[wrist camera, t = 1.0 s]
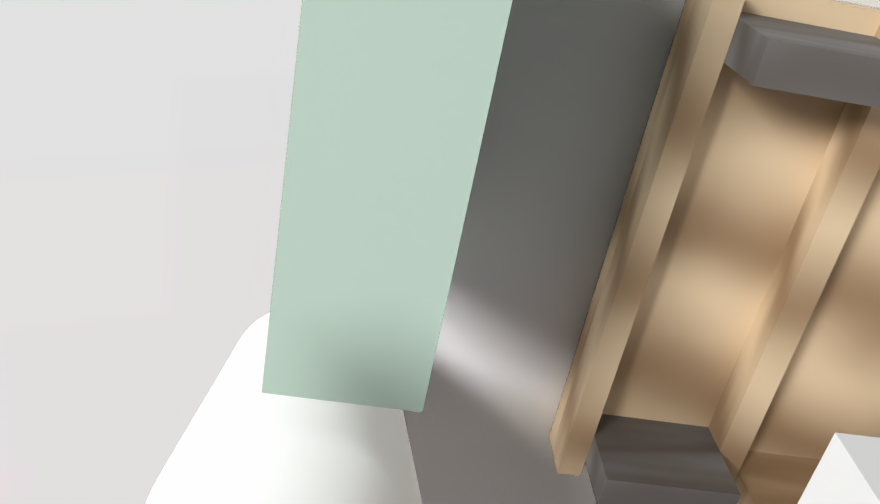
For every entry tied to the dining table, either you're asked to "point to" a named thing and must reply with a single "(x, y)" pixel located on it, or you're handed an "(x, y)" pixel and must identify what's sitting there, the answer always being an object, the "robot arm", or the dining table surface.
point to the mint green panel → (376, 193)
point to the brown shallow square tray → (738, 266)
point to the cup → (285, 445)
